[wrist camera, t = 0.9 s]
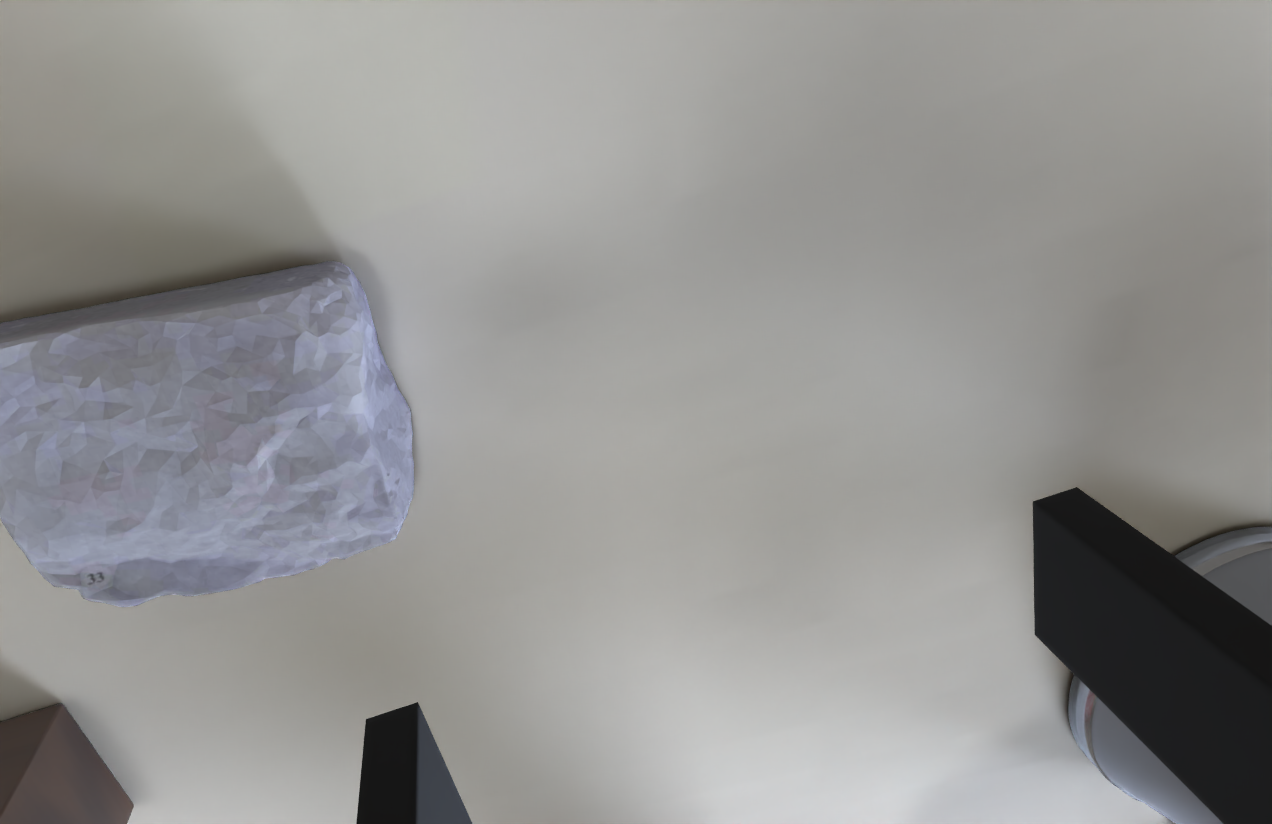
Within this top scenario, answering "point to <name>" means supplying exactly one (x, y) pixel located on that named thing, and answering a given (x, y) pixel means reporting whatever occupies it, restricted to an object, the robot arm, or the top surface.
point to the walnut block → (55, 774)
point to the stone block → (202, 436)
